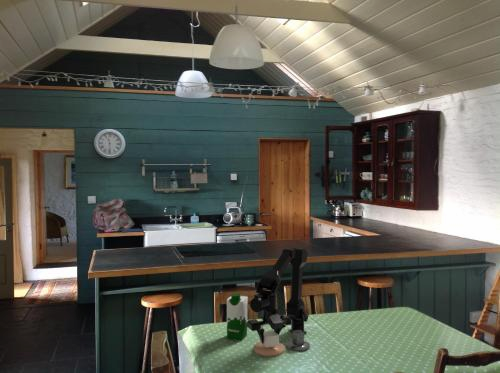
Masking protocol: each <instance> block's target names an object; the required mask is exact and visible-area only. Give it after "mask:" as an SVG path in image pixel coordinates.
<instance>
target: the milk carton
mask: <svg viewBox="0 0 500 373" xmlns="http://www.w3.org/2000/svg"><path fill="white" fill-rule="evenodd" d="M248 299H249V296H245V295H241V294H240V293H232V294H231V296H229V297H228V298H227V299H226V339H227V340H233V341H237V342H242V341H243V340H244V339H246V337H247V336H248V327H247V321H248V304H249V302H248V301H249V300H248Z"/></svg>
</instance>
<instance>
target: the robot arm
mask: <svg viewBox="0 0 500 373" xmlns="http://www.w3.org/2000/svg"><path fill="white" fill-rule="evenodd" d="M308 256H309V254H308V251H307V250H306V248H302V247H301V248H300V247H294V246H293V247H291V248H283V249H282V252H281V254H280V256H279V257H278V258H277V260H276V262H275V264H274V265H273V267H272V268H271V270H268V271H267V272H265V273H264V274H263V276H261V277H260V280H259V283H258V285H257V287H256V291H255V293H256V294H254V295H253V297H252V299H251V300H250V302H249V307H250V309H251V310H252V312H254V313H260V312H262V316H261V317H260V318H261V320H258V319H256V318H252V319H247V329H249V330H250V331H253V332H254V331H256V332H257V334H258V337H259V341H260V340H261V342H262V344H263V343H264V331H266V329H265V328H264V326H270V329H271V330H273V331H274V332H276V333H277V334H278V335H279V336H280V333H281V331H282V330H283V329H284V328H286V327H287V326H291V328H290V329H288V332H289V333H291V334H292V335H293V331H295V330H301V331H303V332H304V335H306V334H307V331H306V330H305V323H307V322H308V320H309V313H308V312H307V311H306V306H305V302H304V301H303V299H302V297H303V296H302V295H303V293H302V292H303V272H304V271H303V270H304V269H303V268H304V266H305V265H306V263H307V260H308ZM289 264H290V265H291V285H290V299H289V300H288V301H287V302H286V303H285V306H286V308H285V313H286V314H285V313H284V314H279V309H278V308H277V295H278V294H279V293H280V292H279V290H278V289H279V287H280V285H281V282H282V280H281V277H282V275H283V274H284V272H285V271H286V269H287V267H288V266H289Z"/></svg>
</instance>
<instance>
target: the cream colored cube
mask: <svg viewBox="0 0 500 373" xmlns="http://www.w3.org/2000/svg"><path fill="white" fill-rule="evenodd" d="M259 342H260V343H261V344H262V342H261V340H260V339H259ZM279 343H280V334H279V335H278V334H277V333H276V332H274V330H273V329H270V330H265V331H264V343H263V345H264V346H265V347H271V346H277V345H279Z"/></svg>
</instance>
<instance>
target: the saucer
mask: <svg viewBox="0 0 500 373" xmlns="http://www.w3.org/2000/svg"><path fill="white" fill-rule="evenodd" d="M285 349H286V348H285V345H284V344H282V343H281V342H279V345H277V346H271V347H265V346H264V345H263V344H261V343H260V341H258V342H256V343H255V344H254V345H253V352H254V353H255V354H257V355H259V356H262V357H269V358H271V357H272V358H273V357H279V356H281V355H283V354H284V353H285Z"/></svg>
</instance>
